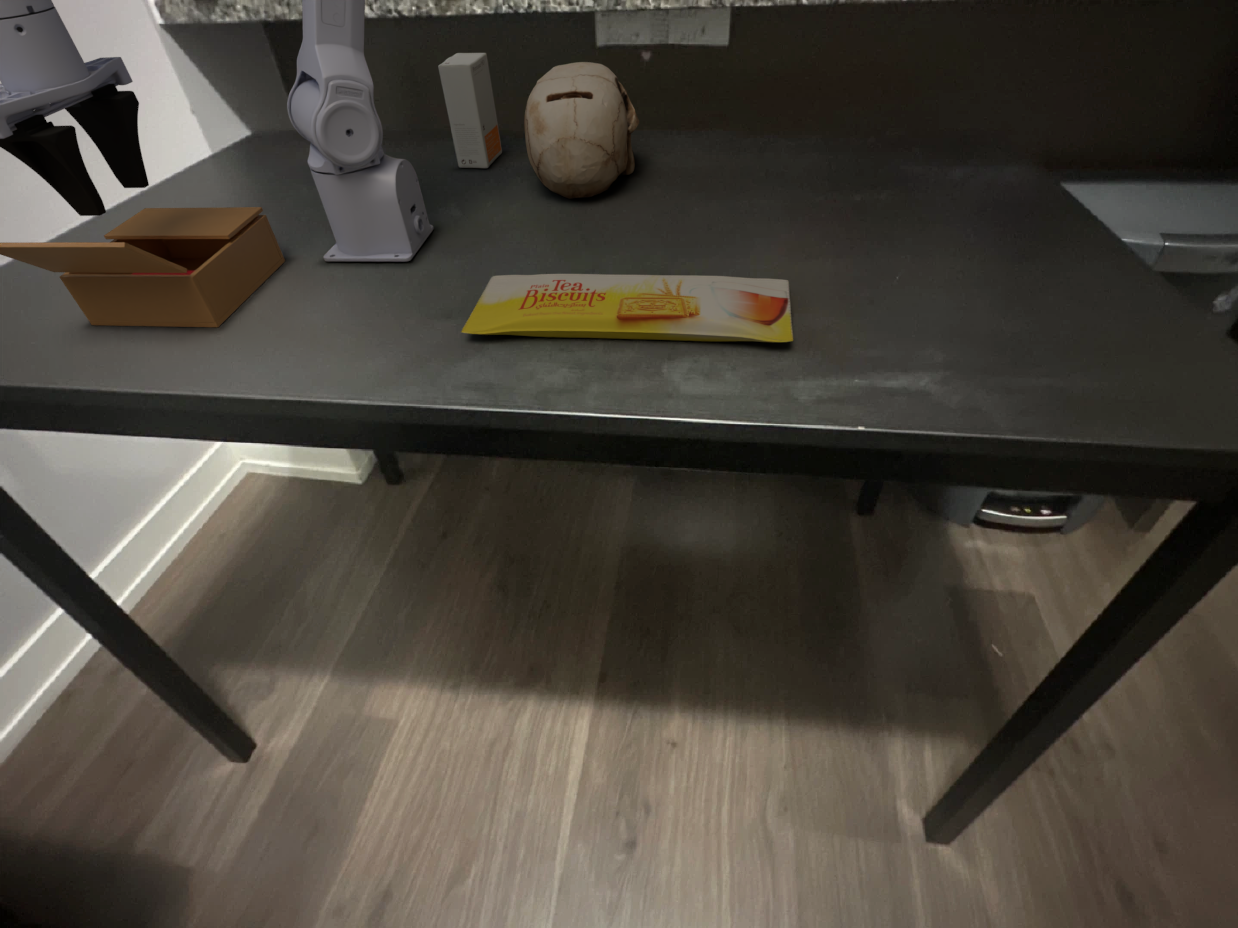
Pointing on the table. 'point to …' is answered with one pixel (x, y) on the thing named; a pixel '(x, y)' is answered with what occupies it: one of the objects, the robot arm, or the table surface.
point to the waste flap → (88, 257)
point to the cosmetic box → (471, 109)
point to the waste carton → (197, 240)
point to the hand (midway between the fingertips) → (115, 199)
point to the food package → (635, 307)
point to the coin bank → (579, 129)
